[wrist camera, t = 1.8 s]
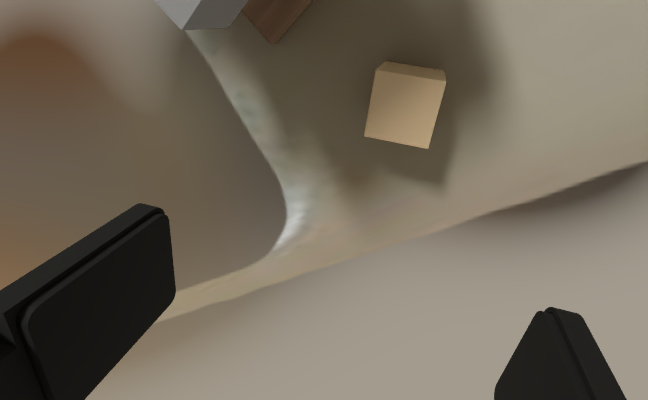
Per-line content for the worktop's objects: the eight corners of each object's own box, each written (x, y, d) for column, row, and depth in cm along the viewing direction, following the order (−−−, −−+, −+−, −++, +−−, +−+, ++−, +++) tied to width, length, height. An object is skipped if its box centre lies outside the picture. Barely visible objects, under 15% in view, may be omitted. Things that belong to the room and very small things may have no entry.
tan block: (444, 70, 30) (446, 81, 25) (428, 127, 32) (428, 149, 27) (385, 60, 31) (375, 69, 26) (374, 117, 33) (363, 136, 28)
